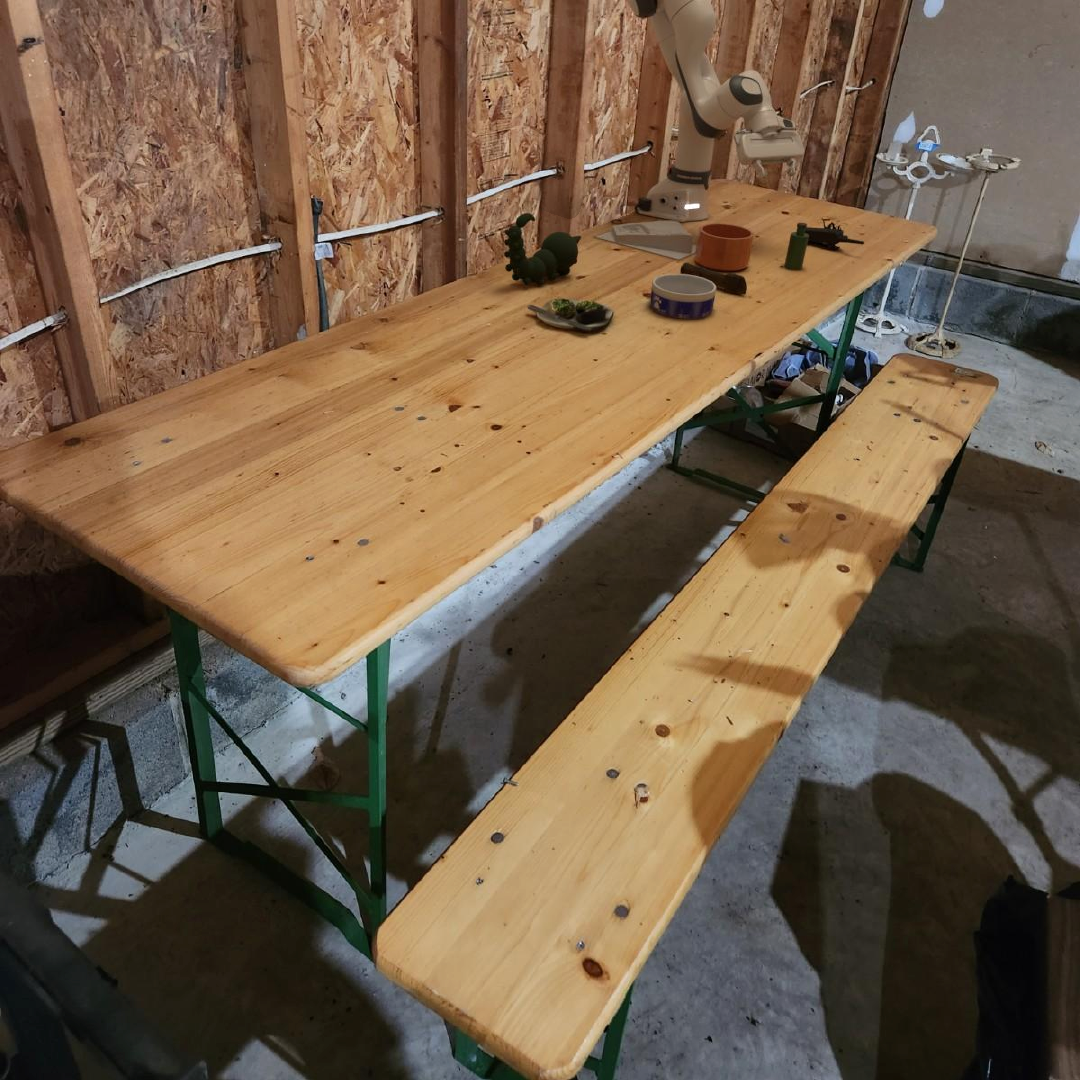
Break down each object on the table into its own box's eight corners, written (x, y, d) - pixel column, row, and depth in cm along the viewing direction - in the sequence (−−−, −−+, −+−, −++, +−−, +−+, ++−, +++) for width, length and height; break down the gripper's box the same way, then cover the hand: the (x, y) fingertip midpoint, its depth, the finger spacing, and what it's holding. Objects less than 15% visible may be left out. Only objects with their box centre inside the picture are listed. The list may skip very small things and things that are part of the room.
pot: (690, 267, 250) (695, 234, 245) (699, 252, 262) (704, 220, 257) (744, 276, 247) (750, 242, 242) (750, 260, 259) (756, 227, 253)
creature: (832, 234, 289) (814, 230, 285) (839, 217, 286) (821, 213, 282) (849, 242, 283) (830, 238, 279) (856, 224, 280) (837, 220, 277)
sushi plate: (516, 325, 209) (517, 305, 206) (539, 300, 223) (540, 281, 220) (599, 339, 205) (601, 319, 202) (617, 312, 219) (619, 293, 216)
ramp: (595, 237, 268) (596, 218, 265) (624, 226, 279) (626, 208, 276) (678, 260, 255) (681, 240, 252) (706, 248, 266) (709, 228, 263)
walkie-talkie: (808, 230, 279) (872, 239, 268) (800, 248, 279) (863, 258, 268) (803, 218, 274) (868, 227, 263) (794, 235, 274) (859, 245, 263)
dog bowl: (636, 305, 224) (639, 280, 221) (676, 292, 233) (679, 268, 230) (686, 324, 215) (689, 299, 212) (725, 310, 224) (729, 286, 221)
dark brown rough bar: (677, 278, 242) (680, 261, 240) (686, 275, 245) (689, 257, 242) (739, 299, 232) (742, 280, 230) (747, 295, 235) (751, 277, 232)
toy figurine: (523, 301, 227) (593, 272, 240) (522, 224, 215) (595, 198, 229) (497, 290, 232) (567, 262, 246) (494, 214, 220) (568, 190, 234)
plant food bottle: (783, 268, 254) (792, 224, 248) (785, 263, 258) (794, 220, 252) (801, 271, 253) (810, 227, 247) (802, 266, 257) (812, 222, 250)
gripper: (738, 124, 247) (753, 171, 246) (799, 121, 255) (814, 167, 253) (726, 138, 253) (740, 184, 251) (786, 135, 261) (800, 180, 259)
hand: (778, 175), depth 252 cm, fingers open, 8 cm apart
